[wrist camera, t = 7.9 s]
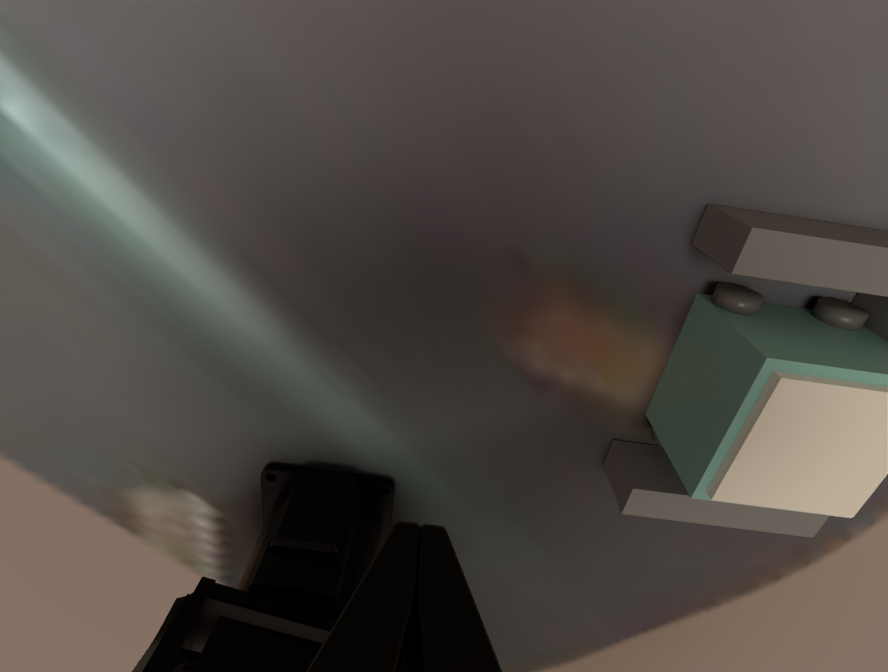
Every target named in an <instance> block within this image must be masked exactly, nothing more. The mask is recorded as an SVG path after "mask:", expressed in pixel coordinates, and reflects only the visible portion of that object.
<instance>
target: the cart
mask: <svg viewBox="0 0 888 672" xmlns="http://www.w3.org/2000/svg"><path fill="white" fill-rule="evenodd" d="M763 300H764V297H763V296H762V295H761V294H759V293H758V292H756V291H754V290H752V289H749V288H746V287H743V286H740V285H736V284H731V283H718V284H717V286H716V288H715V290H714V292H713V295H709V294H702V293H697V294H696V297H695V299H694V301H693V304H692V306H691V308H690V311H689V313H688V315H687V318H686V320H685V322H684V325H683V327H682V329H681V332H680V334H679V336H678V339H677V341H676V343H675V346H674V348H673V350H672V353H671V355H670V357H669V360H668V362H667V364H666V367H665V369H664V371H663V374H662V376H661V378H660V381H659V383H658V385H657V388H656V390H655V392H654V395H653V397H652V399H651V402H650V404H649V406H648V409H647V411H646V413H645V415H646V416H647V418H648V420H649V422H650V424H651V426H652V427H653V429H652V431H651V437H652V439H653V440H654V442H655V443H656V444H658V445H659V446H660V447H662V448H664V450H665V451H666V453H667V455H668V457H669V459H670V461H671V462H672V464H673V466H674V468H675V470H676V472H677V474H678V475H679V477H680V479H681V481H682V483H683V485H684V486H685V488H686V490H687V492H688V494H689V496H690V497H691V498H694V499H702V500H710V501H717V502H725V503H733V504H741V505H749V506H757V507H765V508H773V509H781V510H789V511H797V512H805V513H813V514H821V515H829V516H837V517H845V518H853V517H854V516H855V514H856V513H857V512H858V511H859V509H860V508H861V507H862V506H863V504H864V503H865V502H866V501H867V499H868V498H869V497H870V496H871V494H872V493H873V492H874V491H875V489H876V488H877V487H878V485H879V484H880V483H881V482H882V480H883V479H884V478H885V477H886V475H887V474H888V341H886V340H884V339H883V338H881V337H880V336H878V335H876V334H875V333H873V332H872V331H870V330H869V329H867V328H865V327H864V326H863V324H864V323H865V321H866V320H867V318H868V316H869V313H868V312H867V311H866V310H864V309H862V308H860V307H858V306H856V305H854V304H851V303H848V302H845V301H842V300H838V299H834V298H828V297H821V298H819V299H818V301H817V303H816V304H815V306H814V308H813V309H806V308H799V307H792V306H785V305H778V304H771V303H764V302H763Z"/></svg>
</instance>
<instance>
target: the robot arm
mask: <svg viewBox="0 0 888 672" xmlns="http://www.w3.org/2000/svg"><path fill="white" fill-rule="evenodd" d="M271 474H274V475H271ZM261 488H262V505H263V522H264V527H263V529H262V532H261V534H260V536H259V539H258V541H257V543H256V546H255V548H254V550H253V553H252V555H251V557H250V560H249V562H248V564H247V567H246V569H245V571H244V573H243V576H242V578H241V580H240V583H239V585H238V587H237V589H235V588H232V587H228V586H225V585H221V584H218V583H215V582H216V580H213V579H210V578H206V577H202V578H201V580H200V582H199V584H198V585H197V587H196V589H195V591H194V592H193V593H192V594H191V595H190V594H187V596H185V597H180V598H177V599H176V600H175V602H174V604H173V606H172V608H171V610H170V612H169V613H168V615H167V617H166V619H165V621H164V623H163V624H162V626H161V628H160V630H159V632H158V633H157V635H156V637H155V639H154V640H153V642H152V643H151V645H150V647H149V648H148V650H147V651H146V652H145V654H144V655H143V656H142V658H141V659H140V661H139V662H138V664H137V665H136V667H135V668H134V669H133V671H132V672H502V670H501V667H500V665H499V662H498V660H497V657H496V654H495V652H494V649H493V647H492V644H491V642H490V639H489V637H488V634H487V632H486V629H485V627H484V624H483V622H482V619H481V616H480V614H479V611H478V609H477V606H476V604H475V601H474V599H473V596H472V594H471V591H470V589H469V586H468V584H467V581H466V579H465V576H464V573H463V571H462V568H461V566H460V563H459V561H458V558H457V556H456V553H455V551H454V548H453V546H452V543H451V541H450V538H449V535H448V533H447V531H446V529H445V528H444V527H443V526H437V525H429V524H424V525H422V526H421V528H420V525H419V524H418V523H413V522H404V521H398V522H397V523H396V524H395V525H394V526H393V528H392V530H391V531H390V523H391V515H392V507H393V499H394V491H395V483H394V482H393V481H392V480H390V479H388V478H381V477H373V476H365V475H357V474H349V473H341V472H333V471H325V470H317V469H309V468H301V467H293V466H285V465H277V464H269V465H266V466H265V467H264V469H263V471H262V473H261ZM383 488H387V489H383ZM389 531H390V533H389Z"/></svg>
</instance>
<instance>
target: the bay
mask: <svg viewBox="0 0 888 672" xmlns="http://www.w3.org/2000/svg"><path fill="white" fill-rule="evenodd" d="M692 245H693V246H695V247H696V248H697V249H699V250H700V251H702V252H703V253H704V254H706V255H707V256H708V257H710V258H711V259H712V260H714V261H715V262H716V263H718V264H719V265H720V266H722V267H723V268H724V269H726V270H727V271H728V272H730V273H731V274H737V275H743V276H750V277H757V278H764V279H771V280H777V281H784V282H791V283H798V284H805V285H812V286H818V287H825V288H832V289H839V290H846V291H852V292H858V294H857V296H856V297H855V299H854V301H853V302H852V304H854V305H856V306H858V307H860V308H862V309H864V310H866V311H867V312H868V313H869V316H868V318H867V320H866V321H865V323H864V324H863V326H864V327H865V328H867V329H869V330H870V331H872V332H873V333H875V334H876V335H878V336H880V337H881V338H883V339H884V340H886V341H888V231H884V230H877V229H871V228H864V227H857V226H851V225H844V224H838V223H831V222H825V221H818V220H812V219H805V218H798V217H792V216H785V215H779V214H772V213H766V212H759V211H753V210H746V209H739V208H733V207H726V206H720V205H713V204H707V207H706V209H705V212H704V214H703V217H702V219H701V222H700V224H699V227H698V229H697V232H696V234H695V237H694V239H693V242H692ZM603 464H604V467H605V470H606V473H607V475H608V478H609V481H610V484H611V486H612V489H613V492H614V494H615V497H616V500H617V503H618V505H619V508H620V511H621V514H627V515H635V516H643V517H651V518H659V519H667V520H675V521H683V522H691V523H699V524H707V525H715V526H724V527H732V528H740V529H748V530H756V531H764V532H772V533H780V534H788V535H796V536H804V537H812V538H813V537H814V536H815V534H816V533H817V532H818V530H819V529H820V528H821V526H822V525H823V524H824V522H825V521H826V520H827V519H828V517H829V515H821V514H813V513H805V512H797V511H789V510H781V509H773V508H765V507H757V506H749V505H741V504H733V503H725V502H717V501H710V500H702V499H694V498H691V497H690V496H689V494H688V492H687V490H686V488H685V486H684V485H683V483H682V481H681V479H680V477H679V475H678V474H677V472H676V470H675V468H674V466H673V464H672V462H671V461H670V459H669V457H668V455H667V453H666V451H665V450H664V448H662V447H660V446H657V445H649V444H641V443H634V442H626V441H618V440H613V441H612V443H611V446H610V448H609V451H608V453H607V456H606V458H605V461H604V463H603Z"/></svg>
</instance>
